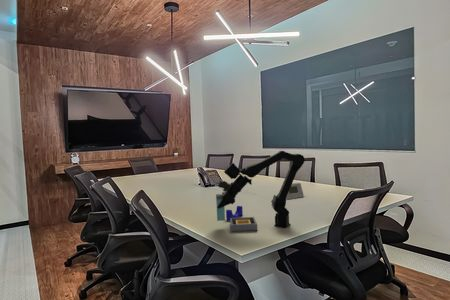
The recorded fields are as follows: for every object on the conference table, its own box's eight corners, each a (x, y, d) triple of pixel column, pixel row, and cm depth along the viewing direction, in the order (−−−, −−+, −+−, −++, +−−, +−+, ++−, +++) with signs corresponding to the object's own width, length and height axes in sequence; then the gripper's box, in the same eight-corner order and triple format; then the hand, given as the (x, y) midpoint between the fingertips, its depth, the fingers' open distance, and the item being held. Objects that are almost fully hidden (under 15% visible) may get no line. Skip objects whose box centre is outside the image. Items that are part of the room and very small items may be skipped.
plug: (224, 218, 158) (223, 193, 157) (225, 220, 154) (223, 195, 153) (217, 218, 158) (216, 194, 157) (217, 220, 154) (216, 195, 153)
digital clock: (286, 200, 217) (285, 185, 217) (280, 197, 226) (280, 183, 225) (306, 198, 221) (305, 183, 220) (300, 195, 230) (299, 182, 229)
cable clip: (232, 221, 168) (232, 210, 168) (226, 220, 171) (226, 210, 171) (244, 216, 178) (244, 206, 178) (238, 215, 181) (238, 205, 180)
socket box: (254, 223, 163) (253, 216, 163) (257, 230, 150) (257, 223, 150) (230, 224, 162) (230, 218, 162) (231, 232, 149) (231, 225, 149)
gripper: (226, 172, 164) (207, 193, 164) (227, 177, 146) (205, 200, 146) (241, 186, 165) (222, 206, 165) (244, 192, 146) (222, 215, 146)
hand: (217, 207), depth 155 cm, fingers closed on plug, 4 cm apart
